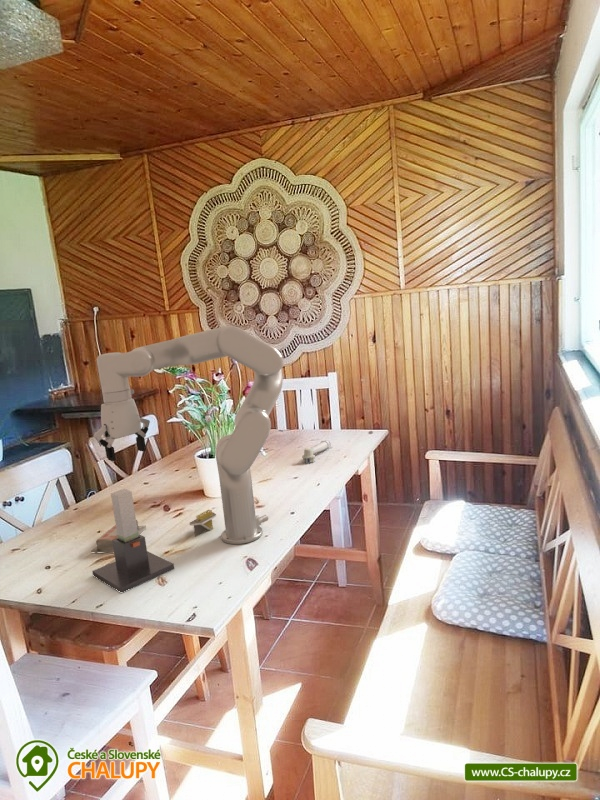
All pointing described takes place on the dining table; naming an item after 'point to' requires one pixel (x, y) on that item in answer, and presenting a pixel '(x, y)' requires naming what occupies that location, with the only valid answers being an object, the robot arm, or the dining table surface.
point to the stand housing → (132, 565)
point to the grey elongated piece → (314, 451)
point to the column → (124, 516)
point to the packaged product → (106, 539)
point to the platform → (203, 522)
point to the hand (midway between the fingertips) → (127, 455)
